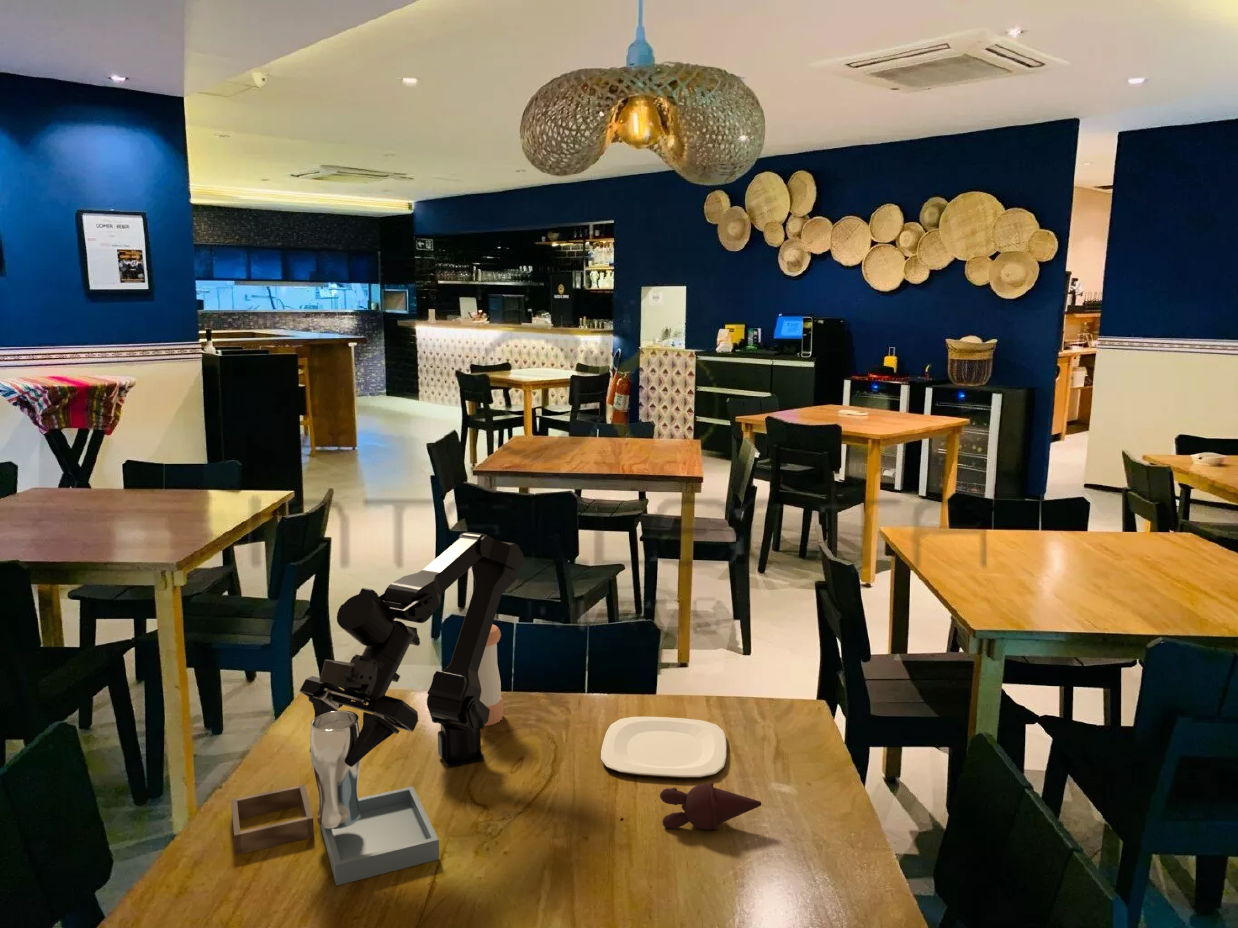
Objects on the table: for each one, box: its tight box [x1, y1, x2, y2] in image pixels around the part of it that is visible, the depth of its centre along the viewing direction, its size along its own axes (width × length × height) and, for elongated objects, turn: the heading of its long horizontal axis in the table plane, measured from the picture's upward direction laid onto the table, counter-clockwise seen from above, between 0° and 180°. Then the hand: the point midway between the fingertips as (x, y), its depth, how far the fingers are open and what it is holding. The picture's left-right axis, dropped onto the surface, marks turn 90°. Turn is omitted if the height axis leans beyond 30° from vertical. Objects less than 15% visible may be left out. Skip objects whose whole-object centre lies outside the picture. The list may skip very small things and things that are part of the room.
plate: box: [600, 716, 727, 779], centre depth 158 cm, size 22×22×2 cm
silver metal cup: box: [309, 709, 362, 829], centre depth 129 cm, size 7×7×15 cm
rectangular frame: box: [230, 784, 315, 856], centre depth 133 cm, size 11×11×3 cm
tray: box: [320, 785, 440, 887], centre depth 130 cm, size 14×16×3 cm
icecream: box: [659, 781, 762, 831], centre depth 134 cm, size 7×7×15 cm
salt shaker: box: [478, 624, 504, 727], centre depth 169 cm, size 7×7×19 cm
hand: (330, 759), depth 127 cm, fingers closed on silver metal cup, 7 cm apart
